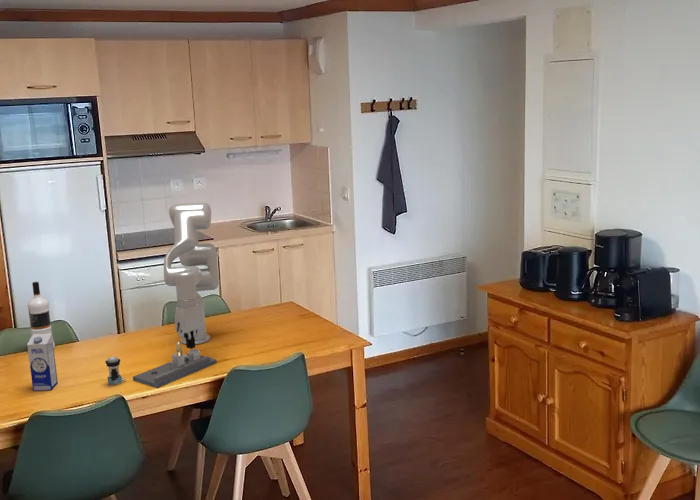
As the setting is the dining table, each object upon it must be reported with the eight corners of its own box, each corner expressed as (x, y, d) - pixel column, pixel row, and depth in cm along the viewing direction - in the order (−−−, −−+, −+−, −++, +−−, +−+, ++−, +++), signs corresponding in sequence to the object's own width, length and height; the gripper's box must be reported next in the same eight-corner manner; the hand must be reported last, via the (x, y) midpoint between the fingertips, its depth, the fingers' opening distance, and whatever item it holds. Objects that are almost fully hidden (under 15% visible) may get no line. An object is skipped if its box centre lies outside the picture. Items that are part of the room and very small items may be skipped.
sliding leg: (166, 366, 292) (163, 340, 290) (172, 364, 295) (170, 338, 292) (181, 371, 287) (179, 344, 285) (188, 368, 289) (185, 342, 287)
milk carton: (58, 383, 284) (52, 332, 279) (52, 390, 277) (45, 338, 273) (39, 384, 283) (33, 333, 279) (32, 391, 277) (26, 339, 273)
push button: (124, 379, 286) (122, 354, 283) (127, 383, 281) (125, 358, 279) (106, 382, 283) (103, 357, 280) (109, 387, 278) (106, 361, 276)
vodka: (55, 351, 320) (46, 283, 313) (31, 354, 317) (22, 285, 310) (55, 344, 328) (47, 278, 322) (32, 347, 325) (24, 280, 319)
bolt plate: (133, 380, 284) (131, 364, 283) (192, 356, 307) (191, 341, 306) (157, 388, 276) (155, 371, 274) (216, 363, 299) (215, 347, 298)
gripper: (195, 296, 297) (198, 341, 301) (165, 305, 285) (169, 351, 289) (208, 299, 293) (211, 344, 296) (178, 308, 281) (182, 355, 285)
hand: (190, 347), depth 293 cm, fingers closed
